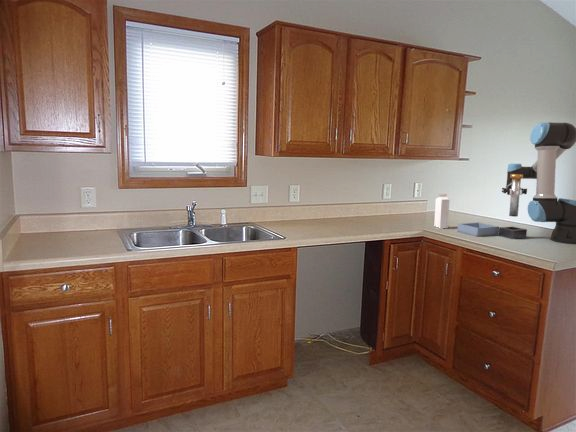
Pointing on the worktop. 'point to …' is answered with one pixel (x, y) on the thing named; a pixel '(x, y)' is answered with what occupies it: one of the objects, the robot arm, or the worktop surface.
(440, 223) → the milk
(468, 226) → the tray
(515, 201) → the pin
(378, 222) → the worktop surface
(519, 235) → the hitch block
